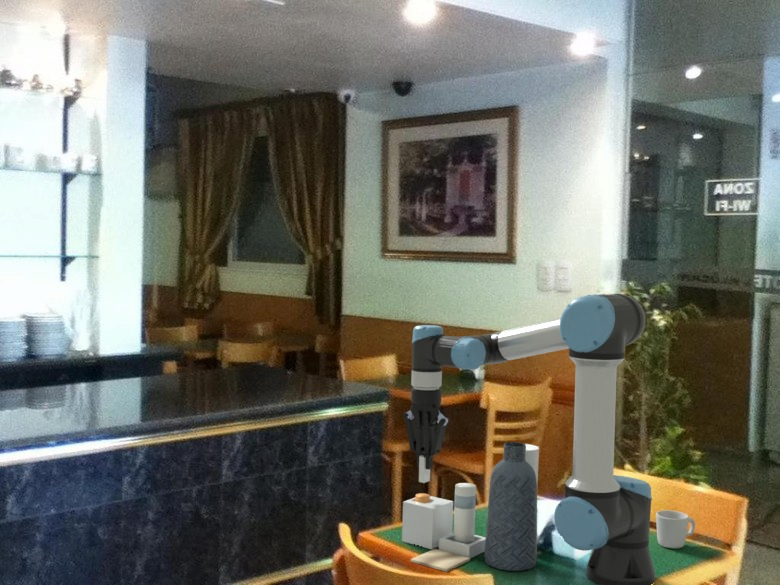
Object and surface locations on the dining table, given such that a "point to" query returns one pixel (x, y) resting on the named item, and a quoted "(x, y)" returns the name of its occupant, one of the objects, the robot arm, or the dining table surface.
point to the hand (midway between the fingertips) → (424, 481)
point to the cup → (673, 528)
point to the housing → (435, 527)
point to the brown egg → (422, 498)
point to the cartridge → (464, 513)
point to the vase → (512, 512)
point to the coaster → (440, 560)
